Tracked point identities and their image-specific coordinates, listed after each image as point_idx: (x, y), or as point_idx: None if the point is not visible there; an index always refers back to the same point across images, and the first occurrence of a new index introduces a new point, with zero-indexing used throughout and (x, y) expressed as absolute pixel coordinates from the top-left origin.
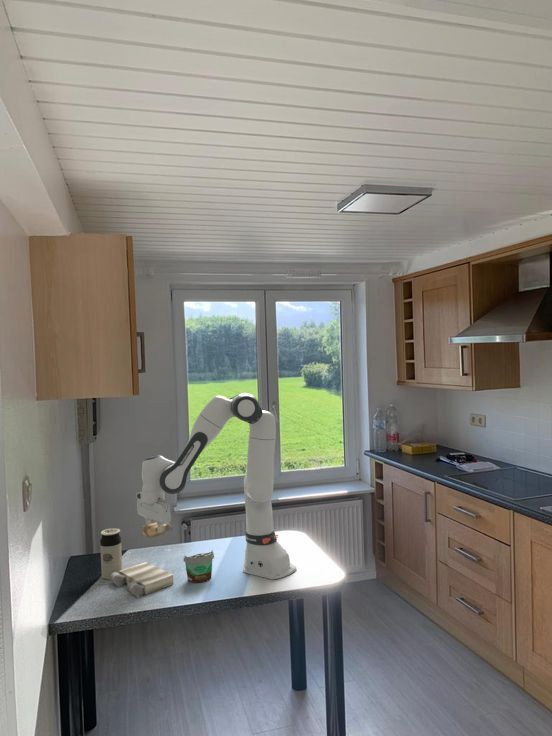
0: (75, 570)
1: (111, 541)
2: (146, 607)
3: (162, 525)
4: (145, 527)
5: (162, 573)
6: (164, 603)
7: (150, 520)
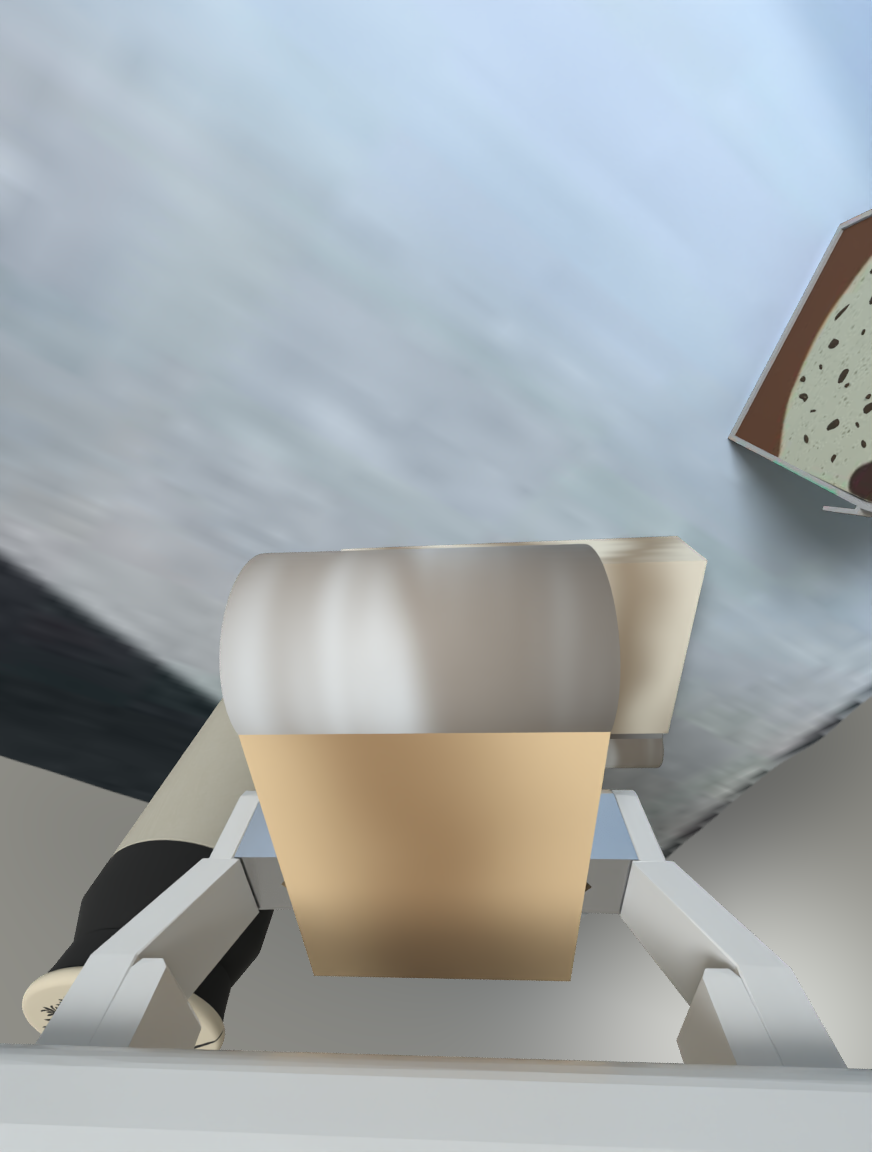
0: (109, 773)
1: (255, 957)
2: (763, 746)
3: (733, 926)
4: (410, 972)
5: (617, 597)
6: (819, 683)
7: (186, 915)
